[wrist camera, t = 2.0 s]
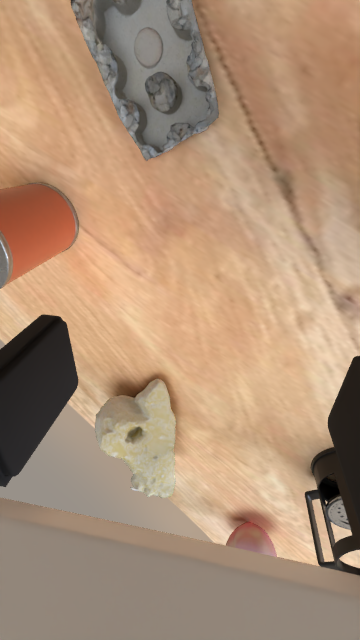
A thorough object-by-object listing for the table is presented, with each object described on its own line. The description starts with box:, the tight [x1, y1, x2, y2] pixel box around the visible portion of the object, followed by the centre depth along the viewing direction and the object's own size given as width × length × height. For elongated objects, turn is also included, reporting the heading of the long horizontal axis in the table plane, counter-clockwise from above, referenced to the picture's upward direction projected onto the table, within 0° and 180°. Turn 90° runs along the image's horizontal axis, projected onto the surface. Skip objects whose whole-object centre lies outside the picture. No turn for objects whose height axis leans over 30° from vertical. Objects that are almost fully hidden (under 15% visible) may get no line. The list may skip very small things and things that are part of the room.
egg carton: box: [71, 0, 219, 161], centre depth 21 cm, size 11×8×4 cm
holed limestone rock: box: [95, 379, 176, 498], centre depth 41 cm, size 15×7×15 cm
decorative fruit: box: [226, 522, 277, 557], centre depth 50 cm, size 9×8×10 cm
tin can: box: [0, 183, 79, 289], centre depth 26 cm, size 7×7×11 cm
